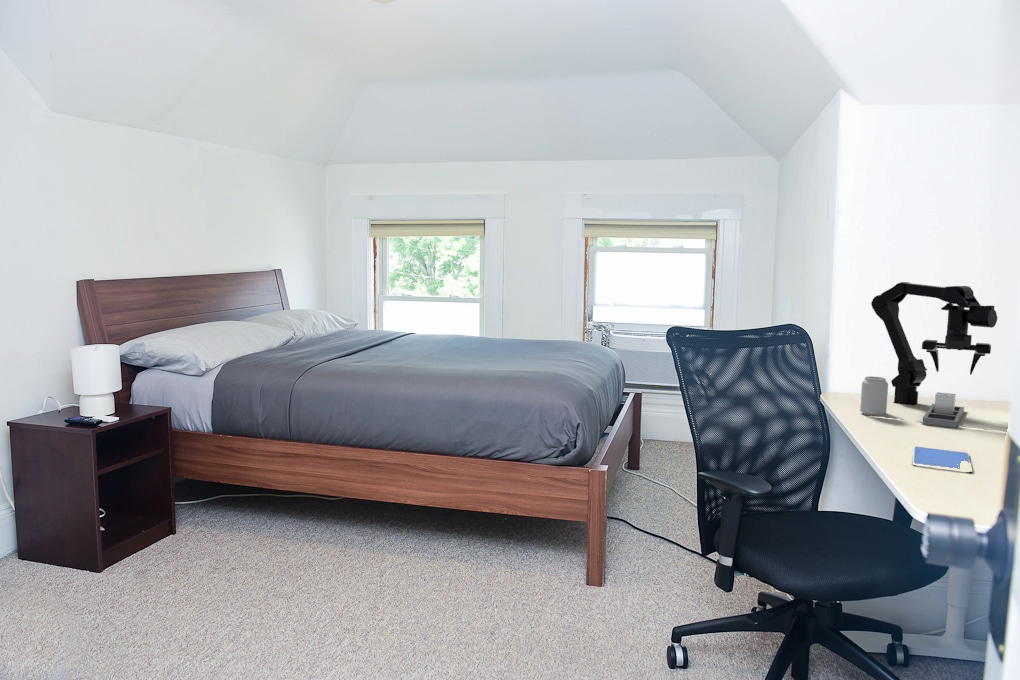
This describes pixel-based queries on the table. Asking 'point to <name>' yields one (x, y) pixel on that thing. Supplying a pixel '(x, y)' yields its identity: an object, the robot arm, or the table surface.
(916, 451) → the tablet computer
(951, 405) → the metal block
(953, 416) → the gray compartment tray
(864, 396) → the can
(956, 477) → the table surface
